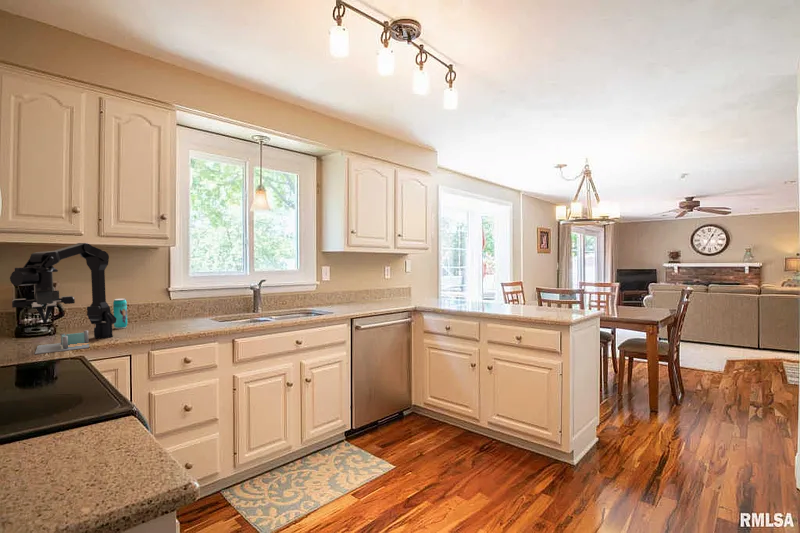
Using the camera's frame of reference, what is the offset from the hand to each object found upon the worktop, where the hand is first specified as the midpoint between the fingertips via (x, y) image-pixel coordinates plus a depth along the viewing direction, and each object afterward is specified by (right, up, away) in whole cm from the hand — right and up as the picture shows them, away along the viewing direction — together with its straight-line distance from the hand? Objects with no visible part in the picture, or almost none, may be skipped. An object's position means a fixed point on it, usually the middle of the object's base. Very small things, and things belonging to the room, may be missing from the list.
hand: (44, 323), depth 167 cm
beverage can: (-3, -9, +50) cm, 51 cm away
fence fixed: (+3, -11, +12) cm, 16 cm away
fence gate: (+3, -10, +6) cm, 12 cm away
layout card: (+1, -11, +8) cm, 13 cm away
